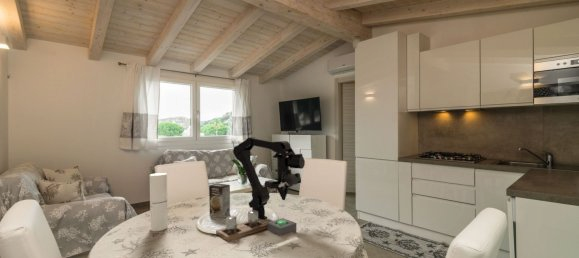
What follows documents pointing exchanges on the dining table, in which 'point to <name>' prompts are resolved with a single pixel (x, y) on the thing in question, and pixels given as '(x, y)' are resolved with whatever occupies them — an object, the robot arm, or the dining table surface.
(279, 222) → the button
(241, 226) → the brown wooden pocket tray
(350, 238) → the dining table surface
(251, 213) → the billet loose
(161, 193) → the cylindrical container
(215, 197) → the coffee box
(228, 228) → the billet seated
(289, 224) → the button housing
